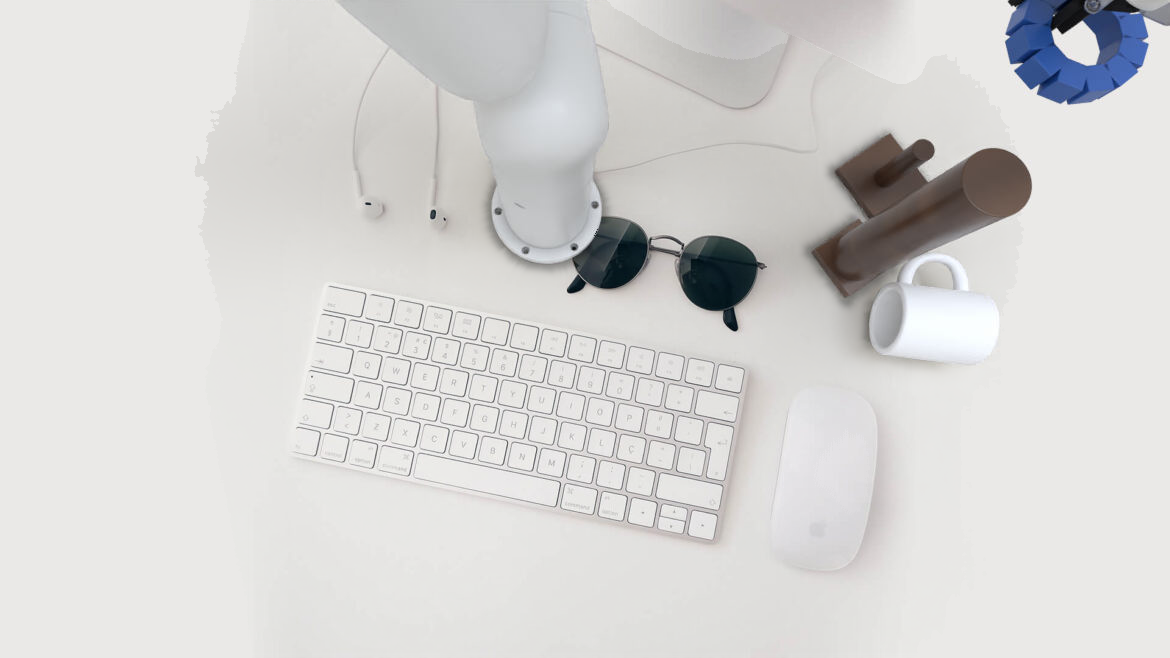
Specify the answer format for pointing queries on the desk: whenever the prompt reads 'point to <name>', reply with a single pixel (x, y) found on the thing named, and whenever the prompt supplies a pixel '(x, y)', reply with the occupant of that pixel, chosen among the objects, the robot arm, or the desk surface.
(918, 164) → the post stand
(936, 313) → the mug
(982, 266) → the desk surface
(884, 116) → the desk surface
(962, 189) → the brown cylinder
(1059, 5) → the ring
